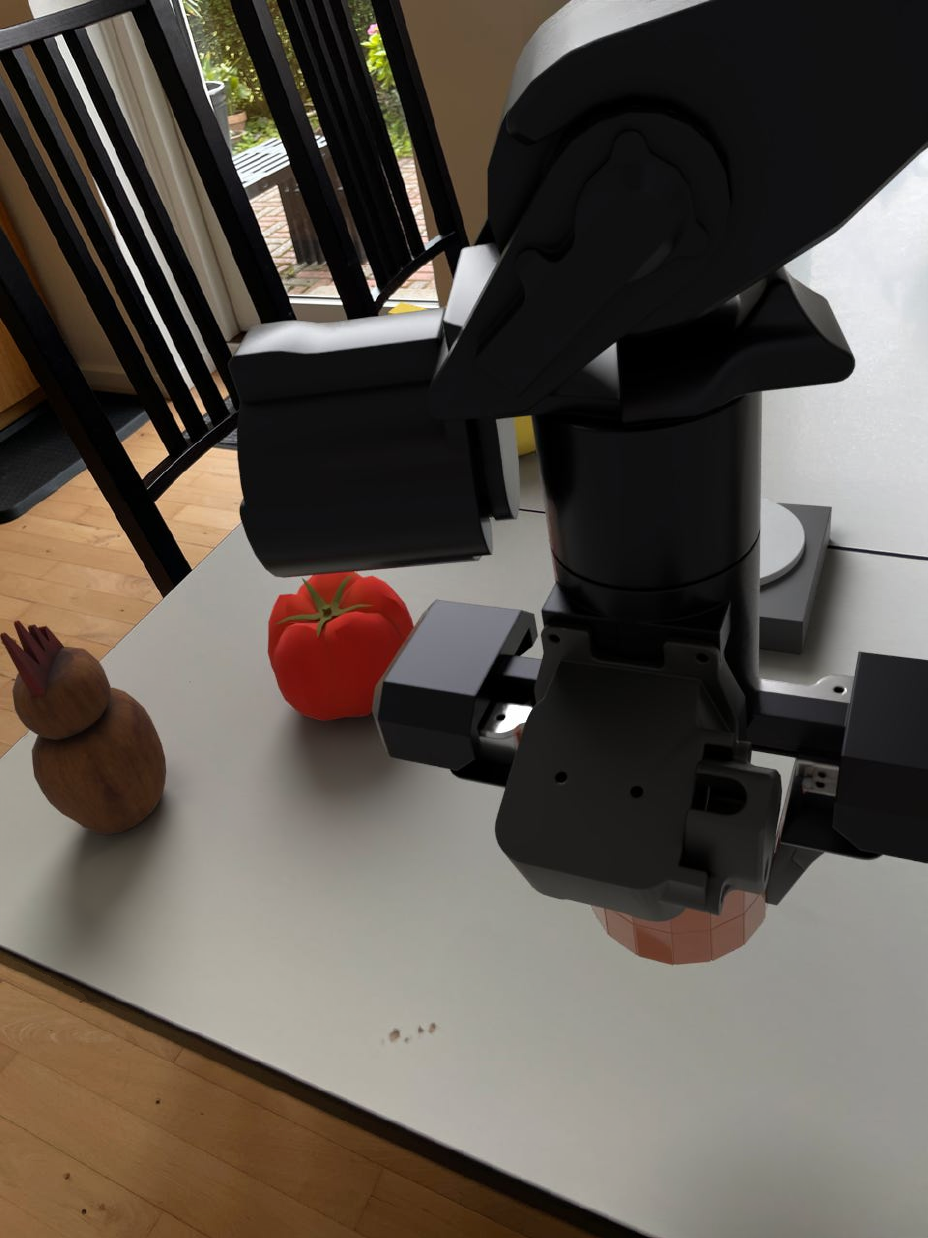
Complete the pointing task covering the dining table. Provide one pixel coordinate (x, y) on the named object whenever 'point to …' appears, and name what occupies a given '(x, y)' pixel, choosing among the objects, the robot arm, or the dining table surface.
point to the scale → (790, 571)
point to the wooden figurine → (85, 734)
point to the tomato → (335, 643)
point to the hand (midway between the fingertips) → (676, 872)
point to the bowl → (689, 930)
